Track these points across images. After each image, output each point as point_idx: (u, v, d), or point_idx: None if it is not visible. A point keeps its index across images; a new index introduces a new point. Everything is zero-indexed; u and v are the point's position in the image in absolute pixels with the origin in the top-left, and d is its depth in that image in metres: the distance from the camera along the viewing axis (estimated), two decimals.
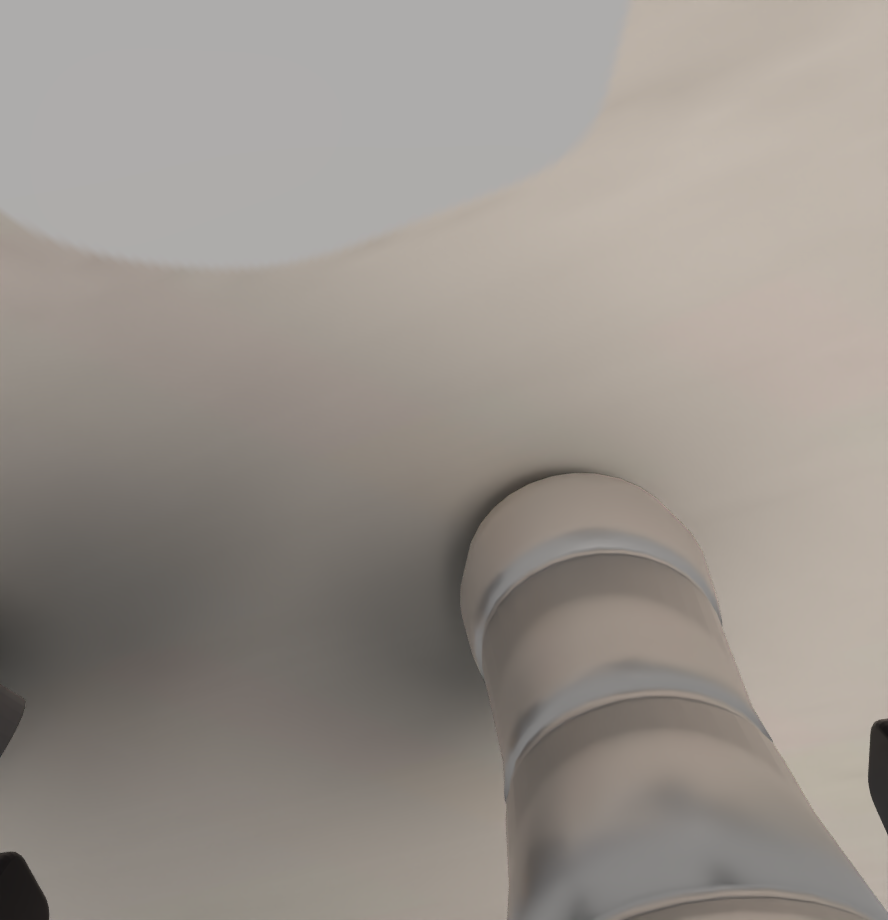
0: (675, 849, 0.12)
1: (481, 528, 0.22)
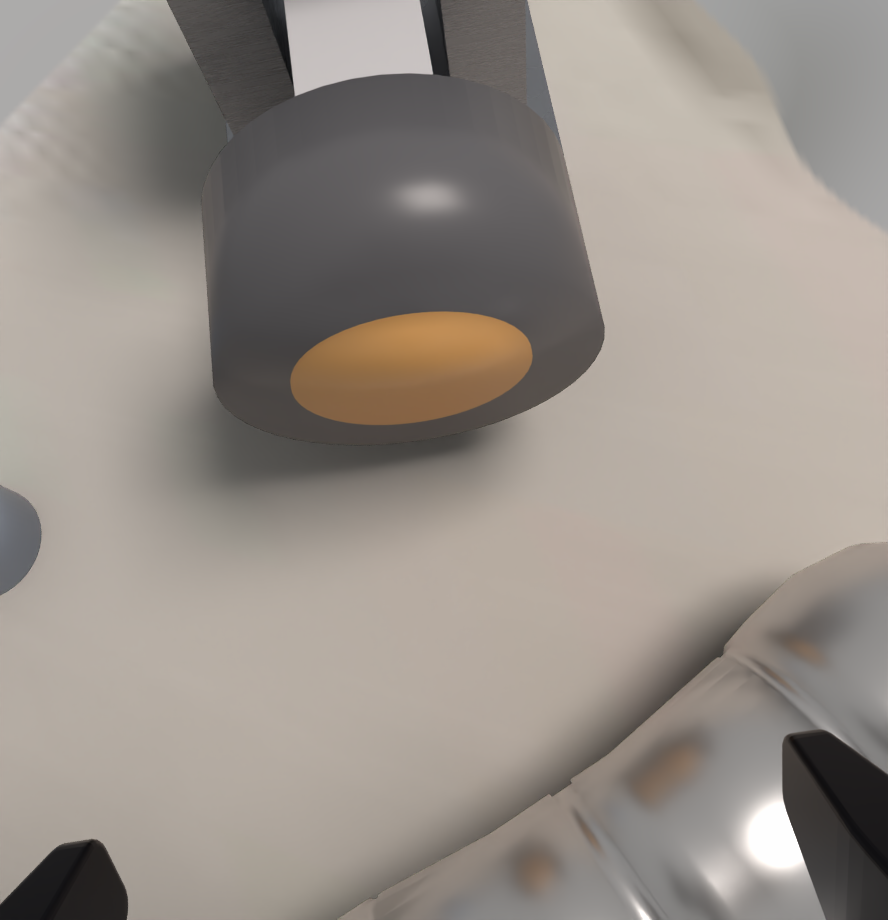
0: None
1: None
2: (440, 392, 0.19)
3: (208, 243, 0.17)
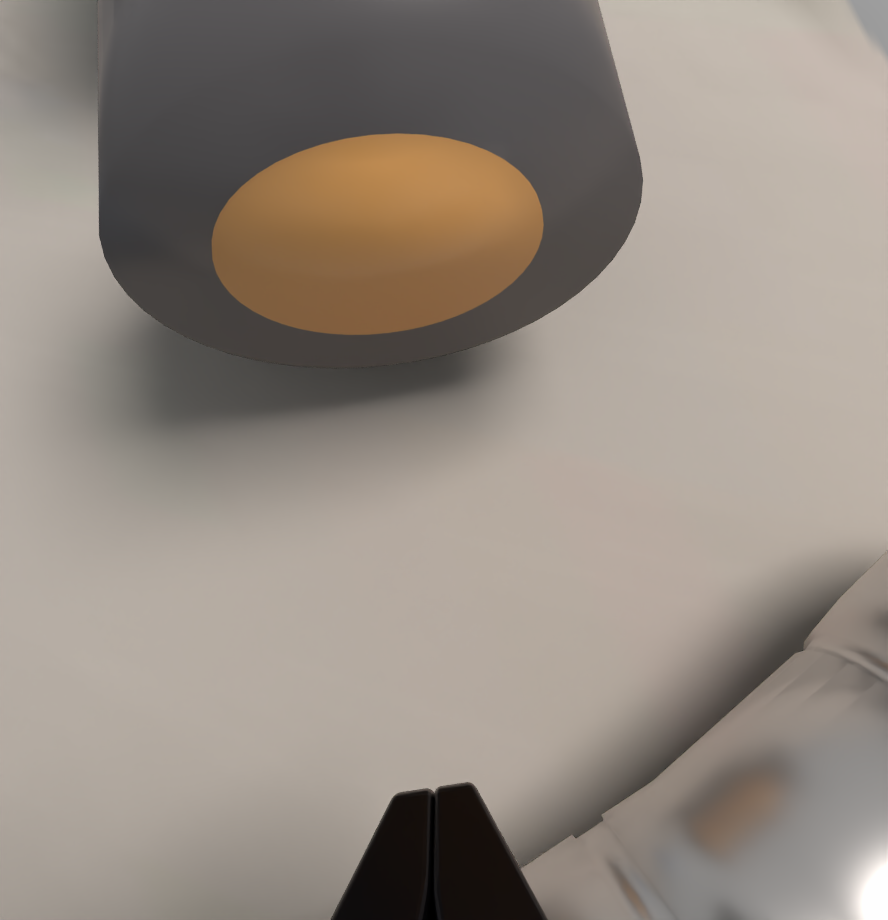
0: None
1: None
2: (419, 283, 0.14)
3: (98, 59, 0.12)
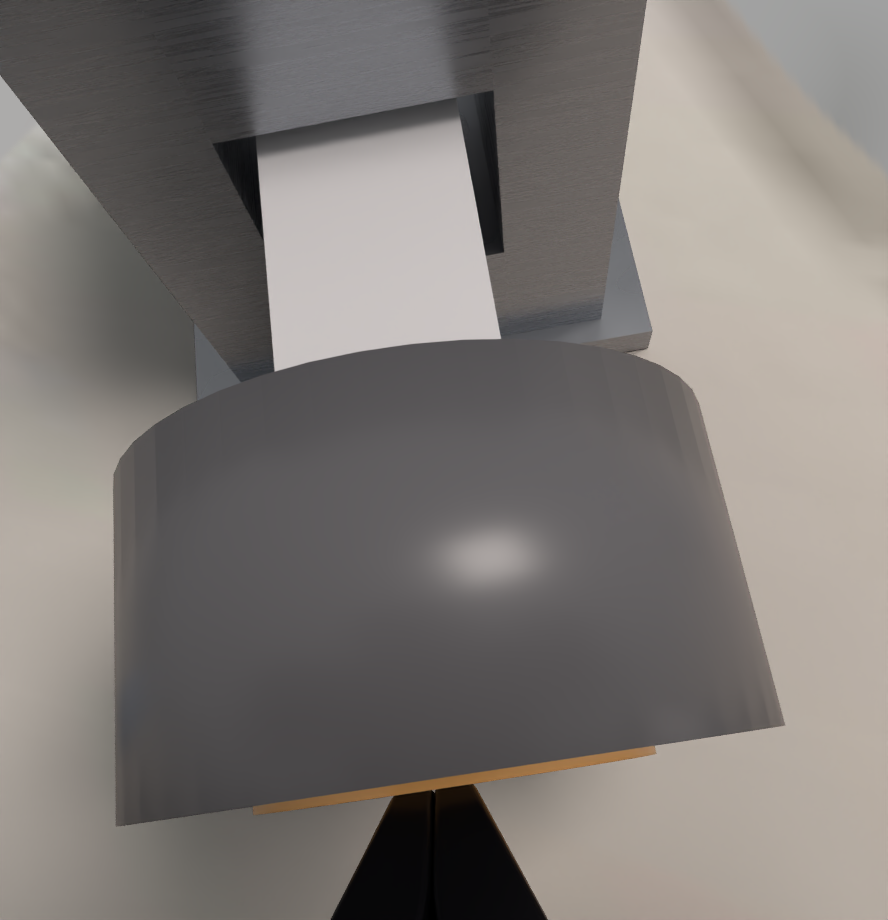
0: None
1: None
2: None
3: (115, 587, 0.10)
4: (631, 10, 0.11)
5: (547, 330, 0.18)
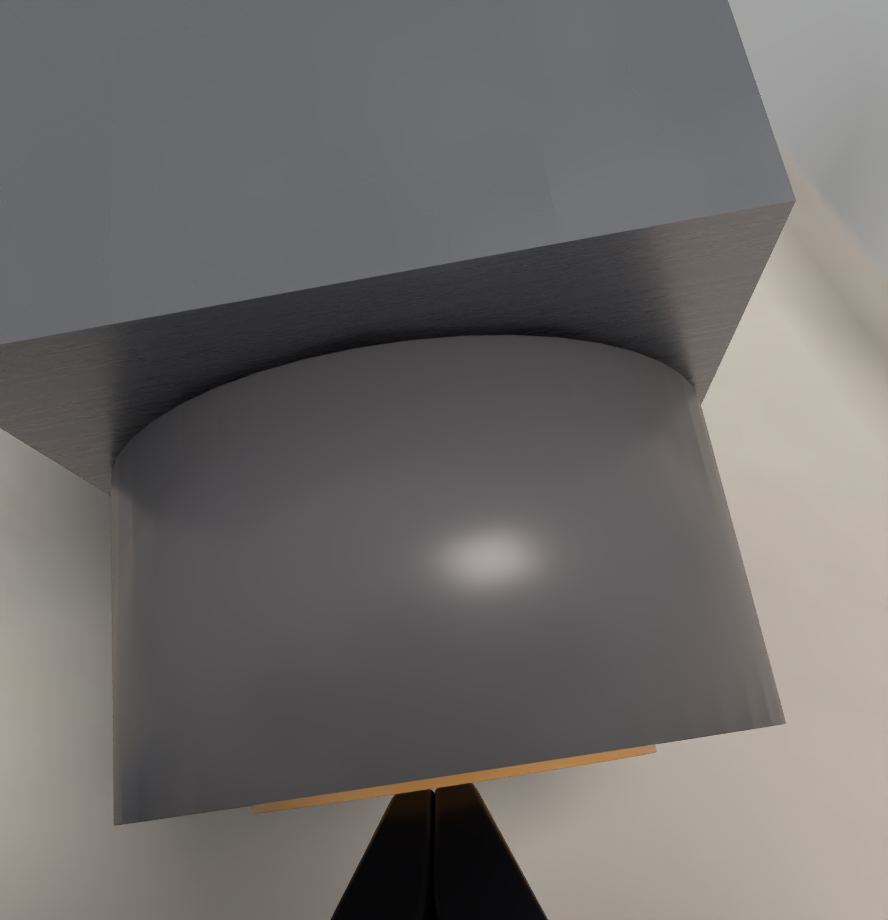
0: None
1: None
2: None
3: (112, 585, 0.10)
4: (723, 323, 0.09)
5: None
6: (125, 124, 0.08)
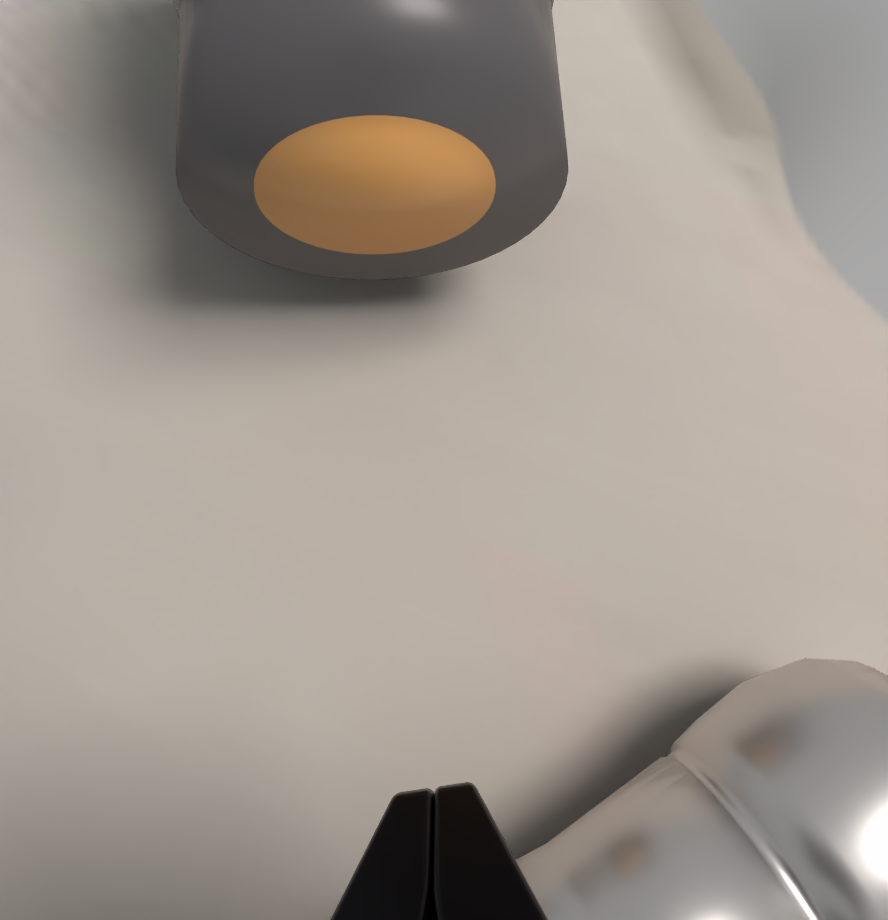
0: None
1: None
2: (400, 220, 0.19)
3: (185, 22, 0.16)
4: None
5: None
6: None
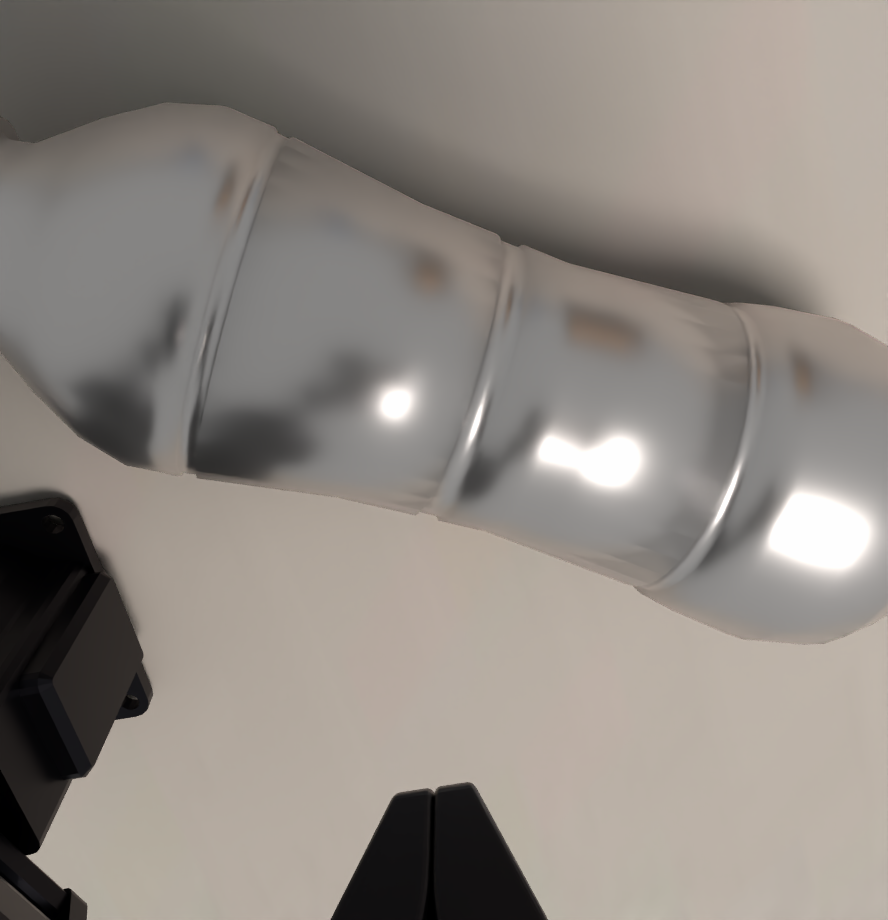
0: (322, 156, 0.14)
1: None
2: None
3: None
4: None
5: None
6: None
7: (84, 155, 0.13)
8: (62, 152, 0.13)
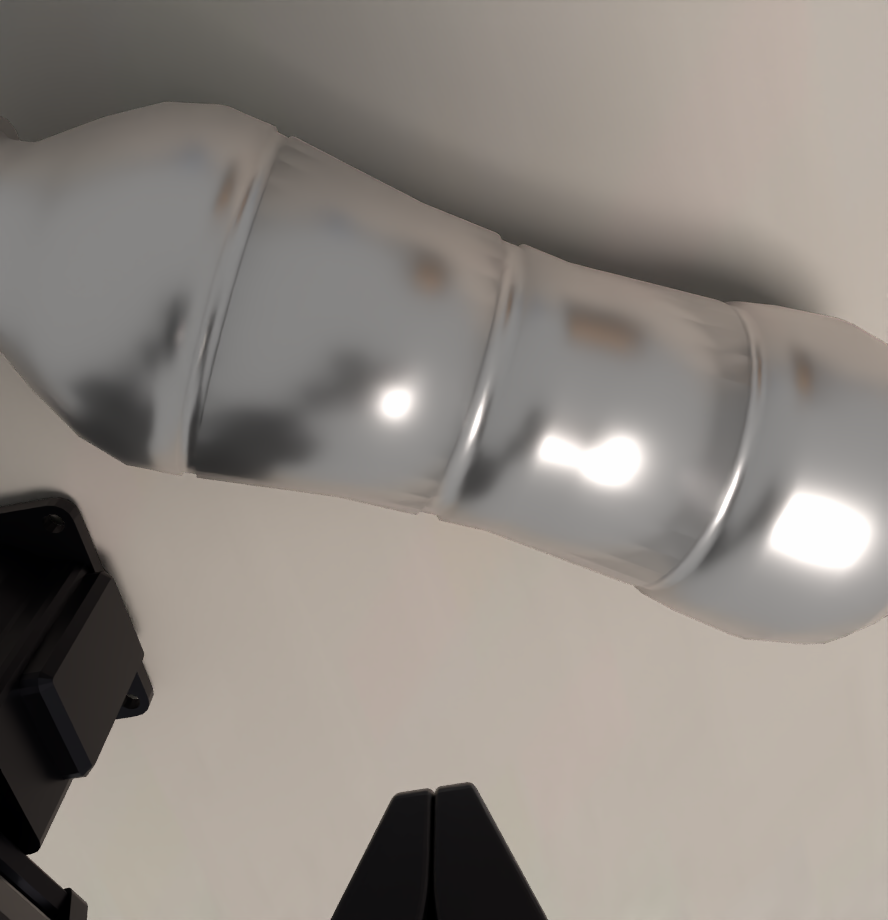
0: (322, 155, 0.14)
1: None
2: None
3: None
4: None
5: None
6: None
7: (84, 154, 0.13)
8: (62, 151, 0.13)
